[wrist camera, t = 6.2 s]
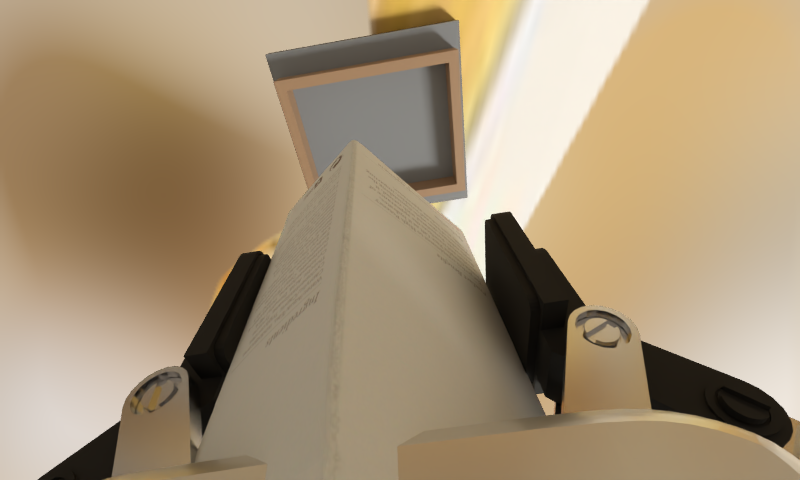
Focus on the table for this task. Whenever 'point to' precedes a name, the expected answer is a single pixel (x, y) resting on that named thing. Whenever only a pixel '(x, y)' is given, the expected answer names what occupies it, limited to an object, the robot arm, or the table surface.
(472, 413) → the skincare box
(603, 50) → the table surface
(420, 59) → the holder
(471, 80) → the table surface
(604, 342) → the robot arm
